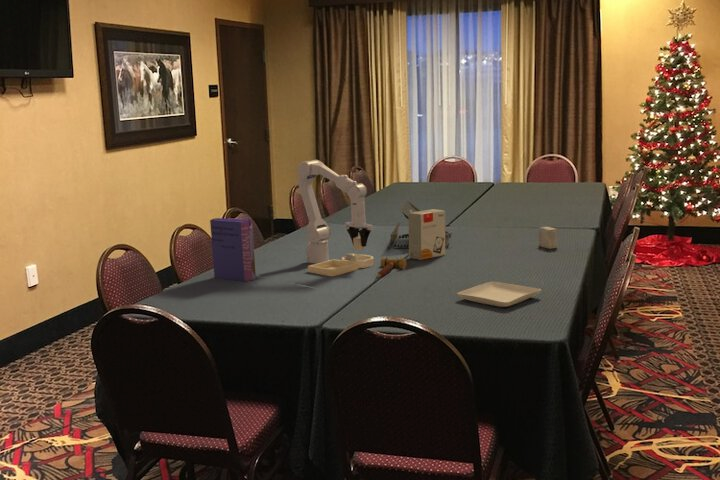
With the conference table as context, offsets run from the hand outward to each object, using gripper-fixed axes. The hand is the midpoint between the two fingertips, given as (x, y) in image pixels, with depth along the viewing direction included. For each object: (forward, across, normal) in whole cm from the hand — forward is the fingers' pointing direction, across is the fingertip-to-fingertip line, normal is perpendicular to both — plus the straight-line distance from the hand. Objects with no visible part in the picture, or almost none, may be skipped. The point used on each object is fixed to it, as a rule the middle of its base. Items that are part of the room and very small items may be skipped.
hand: (359, 245), depth 326 cm
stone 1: (+8, -4, -2) cm, 9 cm away
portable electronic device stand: (+10, -13, +55) cm, 58 cm away
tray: (+9, -2, -13) cm, 16 cm away
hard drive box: (+9, +10, +31) cm, 34 cm away
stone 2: (+1, 0, 0) cm, 1 cm away
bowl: (+9, -2, 0) cm, 9 cm away
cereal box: (+9, -28, -44) cm, 53 cm away
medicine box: (+9, +43, +77) cm, 88 cm away
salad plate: (+10, +75, -9) cm, 76 cm away
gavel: (+10, +16, -1) cm, 19 cm away
